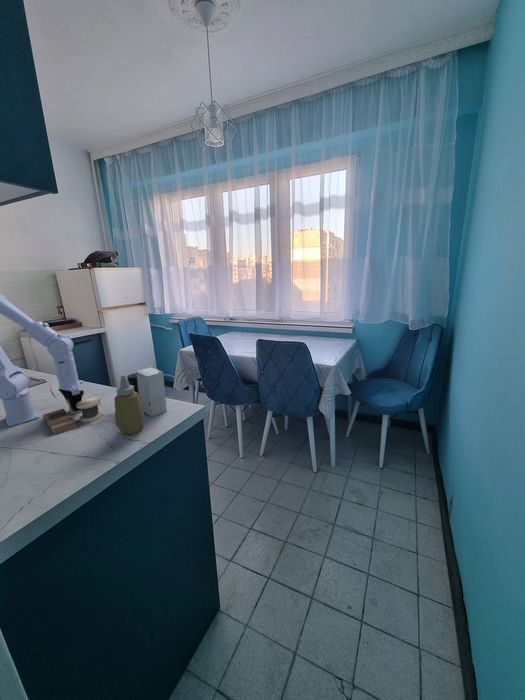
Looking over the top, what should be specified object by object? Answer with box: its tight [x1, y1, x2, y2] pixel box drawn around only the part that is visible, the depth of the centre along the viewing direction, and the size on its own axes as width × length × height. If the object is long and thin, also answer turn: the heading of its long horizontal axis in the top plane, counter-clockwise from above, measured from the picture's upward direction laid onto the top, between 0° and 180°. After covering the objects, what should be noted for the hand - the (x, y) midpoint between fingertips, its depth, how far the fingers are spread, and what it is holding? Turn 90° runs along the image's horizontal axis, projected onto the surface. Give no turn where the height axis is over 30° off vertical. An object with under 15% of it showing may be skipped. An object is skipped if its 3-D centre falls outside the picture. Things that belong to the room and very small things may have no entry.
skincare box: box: [136, 366, 168, 417], centre depth 100 cm, size 8×6×15 cm
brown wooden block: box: [66, 399, 82, 416], centre depth 102 cm, size 3×3×6 cm
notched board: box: [42, 408, 77, 435], centre depth 95 cm, size 14×6×2 cm, turn 46°
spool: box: [76, 397, 104, 423], centre depth 98 cm, size 7×7×6 cm
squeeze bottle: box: [113, 374, 146, 437], centre depth 86 cm, size 8×8×18 cm
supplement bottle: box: [126, 373, 139, 394], centre depth 104 cm, size 7×7×12 cm
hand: (74, 408), depth 103 cm, fingers open, 5 cm apart
